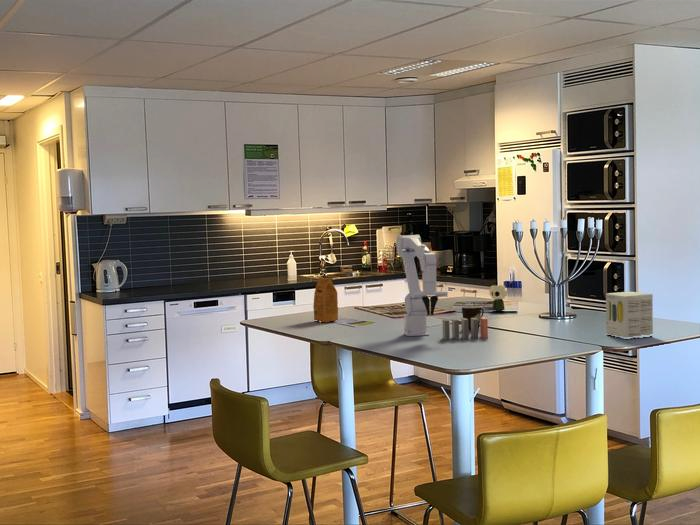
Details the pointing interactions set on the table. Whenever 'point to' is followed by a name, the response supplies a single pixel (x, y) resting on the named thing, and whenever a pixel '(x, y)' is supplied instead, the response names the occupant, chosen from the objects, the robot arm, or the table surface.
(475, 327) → the domino
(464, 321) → the domino
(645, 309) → the supplement box
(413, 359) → the table surface
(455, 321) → the domino
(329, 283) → the coffee package
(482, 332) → the red domino
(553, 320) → the table surface
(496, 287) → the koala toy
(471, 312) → the coffee mug
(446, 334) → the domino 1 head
